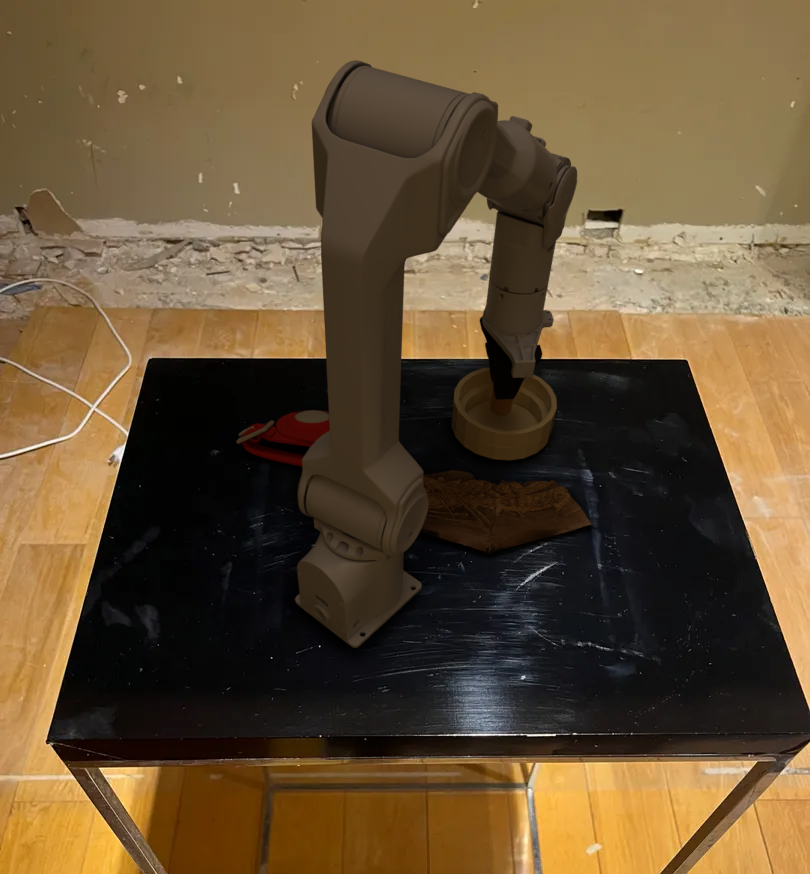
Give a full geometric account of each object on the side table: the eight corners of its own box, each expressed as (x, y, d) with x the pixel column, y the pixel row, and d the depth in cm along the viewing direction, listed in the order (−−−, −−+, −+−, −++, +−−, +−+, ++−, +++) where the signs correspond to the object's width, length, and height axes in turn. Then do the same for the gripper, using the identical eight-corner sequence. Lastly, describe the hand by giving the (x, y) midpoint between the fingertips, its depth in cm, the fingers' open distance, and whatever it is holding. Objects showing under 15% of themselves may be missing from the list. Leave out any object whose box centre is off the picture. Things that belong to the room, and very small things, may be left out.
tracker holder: (318, 394, 95) (375, 421, 88) (319, 430, 97) (374, 458, 91) (226, 419, 87) (281, 450, 81) (230, 457, 90) (283, 490, 83)
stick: (502, 418, 91) (513, 352, 84) (485, 409, 92) (494, 342, 85) (515, 408, 92) (526, 341, 85) (498, 398, 93) (508, 331, 86)
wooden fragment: (589, 486, 88) (591, 479, 87) (593, 567, 81) (595, 560, 80) (349, 464, 89) (349, 457, 88) (332, 542, 82) (332, 535, 81)
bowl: (511, 479, 88) (516, 448, 85) (431, 431, 93) (433, 400, 89) (569, 427, 94) (576, 396, 91) (490, 384, 99) (495, 353, 95)
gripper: (575, 321, 75) (551, 432, 85) (546, 237, 84) (527, 346, 95) (498, 323, 74) (483, 434, 85) (477, 238, 84) (466, 348, 94)
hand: (502, 388), depth 90 cm, fingers closed on stick, 2 cm apart
